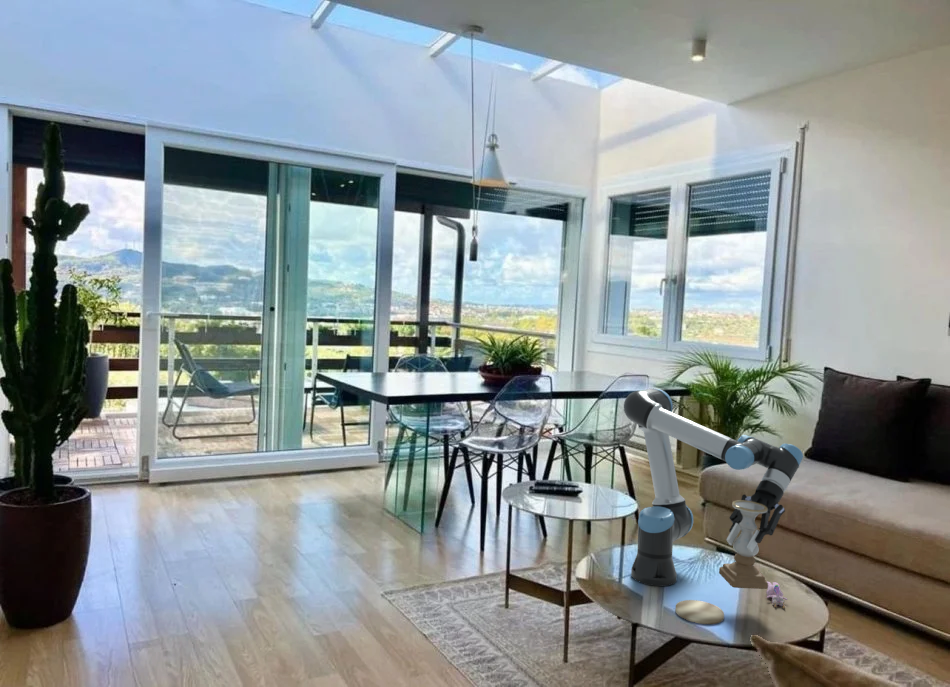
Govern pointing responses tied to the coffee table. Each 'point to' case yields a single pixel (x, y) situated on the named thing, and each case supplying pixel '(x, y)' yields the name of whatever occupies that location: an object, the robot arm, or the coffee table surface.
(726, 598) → the coffee table surface
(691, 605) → the hub disc
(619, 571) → the coffee table surface
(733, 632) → the coffee table surface
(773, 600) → the purple toy figure
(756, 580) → the candle holder
